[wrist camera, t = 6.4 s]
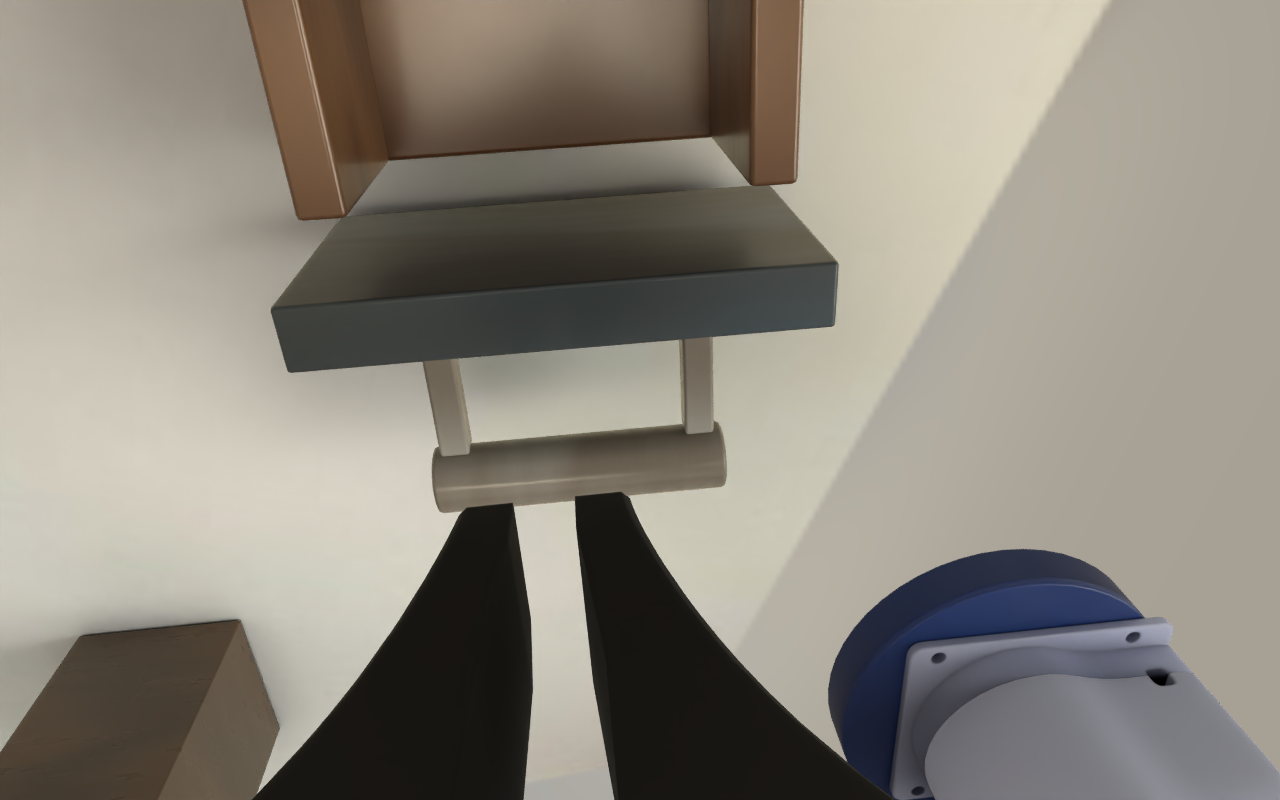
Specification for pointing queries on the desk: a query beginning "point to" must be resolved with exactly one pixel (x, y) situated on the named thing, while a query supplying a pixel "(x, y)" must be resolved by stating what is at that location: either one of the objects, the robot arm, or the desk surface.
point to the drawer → (542, 210)
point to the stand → (146, 720)
